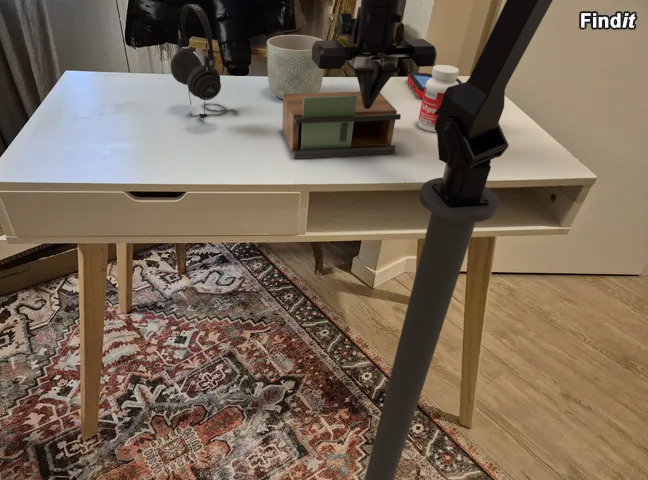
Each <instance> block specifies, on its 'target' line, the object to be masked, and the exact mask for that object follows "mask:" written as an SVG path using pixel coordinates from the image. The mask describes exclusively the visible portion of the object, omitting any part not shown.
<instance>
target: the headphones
mask: <svg viewBox="0 0 648 480" xmlns="http://www.w3.org/2000/svg"><path fill="white" fill-rule="evenodd" d="M190 9H191V10H193V12H194V13H195V14H196V15H197V17H198V19H199V20H200V22H201V25H202V27H203V30H204V34H205V37H206V42H205V56H204V58H203V59H204V64H203V63H202V61H201V59H200V57H199V56H198V55H197V54H196V53H195V52H193V51H191V50H188V49H183V48H188V47H189V39H188V37H186V20H187V15H188V12H189V10H190ZM177 31H178V36H179V37H178V38H177V43H178V48H180V51H178V52H176V53H175V54H174V55H173V56H172V58H171V60H170V73H171V75H172V77H173V78H174V80H176V82H178V83H179V84H182V85H184V86H185V85H187V89H188V97H189V98H191V95H190V94H192V95H193V96H194V97H196V98H199V99H200V100H201V101H204V103H203V113H199V114H195V115H192V112H190V113H189V116H190V117H198V116H199V121H201V122H203V121H204V120H205V117H208V116H212V114H207V113H205V112H206V110H209V111H211V112H212V111H213V112H217V109H215V110H214V109H210V108H207V107H206V105H208V103H206V101H209V100H213V99H214V98H216V97H217V96H218V95H219V94H220V92H221V89H222V83H221V76H220V73H219V71H218V69H216V67H215V66H216V56H215V55H214V45H213V44H214V43H213V38H212V37H213V35H212V30H211V26H210V21H209V19H208V15H207V13H206V12H205V10H204V9H203V7H201V6H200V5H199V4H196V3H194V4H193V3H192V4H191V3H190V4H184V5H183V6H182V8H181V11H180V24H179V23H177ZM189 103H190V104H192V99H189ZM215 105H216V106H221V107H222V108H223V109H222V110H221V112H223V113H219V114H216V116H220V115H224V114H225V113H226V112H227V109H226V108H225V107H224V106H223V105H221V104H217V103H214V106H215ZM232 111H233V112H234V115H236V114H237V112H236V111H235V109H232ZM201 118H202V119H201Z"/></svg>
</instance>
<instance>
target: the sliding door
mask: <svg viewBox="0 0 648 480" xmlns="http://www.w3.org/2000/svg"><path fill="white" fill-rule="evenodd" d="M356 99H357V96H356V95H353V96H321V97H304V98H303V117H302V118H305V117H331V116H355V107H356ZM353 124H354V121H350V122H325V123H302V135H301V150H302V149H323V148H343V147H351V140H352V132H353Z"/></svg>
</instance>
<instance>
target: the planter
mask: <svg viewBox="0 0 648 480" xmlns="http://www.w3.org/2000/svg"><path fill="white" fill-rule="evenodd" d="M316 41H325V40H324V39H322V38H320V37H316V36H311V35H305V34H282V35H275V36H273V37H270V38H268V39H267V41H266V60H267V63H266V64H267V66H266V67H267V68H266V69H267V80H268V81H267V83H268V87H269V90H270V92H271V93H272V94H273V95H274V96H275V97H276V98H278V99H281V100H283V94H298V93H320V91H321V88H322V85H323V79H324V72H325V69H320V68H318V67H317V65H316V64H315V63H314V61H313V60H312V47H313V45H314V43H315V42H316Z"/></svg>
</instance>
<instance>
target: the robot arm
mask: <svg viewBox="0 0 648 480" xmlns="http://www.w3.org/2000/svg"><path fill="white" fill-rule="evenodd" d="M553 1H554V0H506V1H505V3H504V4H503V7H502V9H501V11H500V13H499V15H498V17H497V19H496V21H495V23H494V25H493V27H492V30H491V32H490V34H489V36H488V38H487V40H486V42H485V44H484V45H483V49H481V53H480V55H479V57H478V59H477V61H476V63H475V66H474V67H473V69H472V72H471V74H470V75H469V77H468V78H467V80H466V81H464V82H462V83H461V84H457V85H454V86H451V87H448V88H447V89H446V91H445V93H444V96H443V100H442V103H441V105H440V107H439V108H438V110H437V111H436V112H435V113H434V114H435V115H438V117H437V118H436V122H435V131H436V132H435V133H436V138H437V151H438V160H439V161H441V162H443V163H445V168H444V173H443V175H442V178H443V179H442V183H434V184H432V188H433V189H434V191H435V192H436V193H437V194H438V196H439V197H440V198H441V199H442V200H443V202H444V203H445V204H446V205H447V206H448V207H450V208H453V207H467V206H482V205H489V202H490V201H489V200H488V199H487V198H486V197H485V196H484V195H483V191H484V188H485V187H486V184H487V181H488V177H489V175H490V172H491V170H492V169H491V168H492V166H491V162H492V160H494V159H496V158H500V157H502V156H503V154H504V153H505V152H506V150H507V149H508V148H509V142H508V140H507V138H506V136H505V134H504V132H503V130H502V128H501V125H500V119H501V117H502V114H503V112H504V109H505V97H506V96H505V94H506V88H507V86H508V84H509V81H510V80H511V78H512V76H513V74H514V72H515V71H516V69H517V67H518V65H519V63H520V62H521V59H522V58H523V56H524V55H525V52H526V50H527V49H528V47H529V45H530V44H531V41H532V40H533V37H534V36H535V34H536V32H537V31H538V28H539V26H540V25H541V24H542V21H543V20H544V17H545V16H546V13H547V12H548V10H549V8H550V6H551V4H553V3H552V2H553ZM401 2H402V1H401V0H360V6H358V7H357V11H356V17H355V18H353V15H352V13H350V12H347V13H345V12H344V13H341V12H340V13H339V14H337V20H336V36H337V37H346V43H347V44H352V45H355V46H344V45H343V44H342V43H341V42H340V41H339V40H337V39H336V40H334V39H333V40H331V39H330V40H324V41H316V42H315V43H314V45H313V47H312V60H313V61H314V63H315V64H316V65H317V67H318V68H320V69H324V70H340V69H341V68H343V66H344V65H345V64H346V66H347V67H348V68H349V69H350V70H351V71H352V72H353V73H354V74H355V75H356V78H357V82H358V86H359V92H361V97H362V102H363V106H364V108H365V109H370V107H371V106H372V104H373V103H374V101H375V99H376V98H377V96H378V94H379V93H381V92H382V90H383V88H384V87H385V85H386V84H388V82H389V80H390V79H391V77H392V76H393V75H394V74H397V73H398V74H399V73H400V67H399V66H397V64H398V62H399V60H411V61H412V63H413V64H414V65H415V66H416V67H417V68H423V67H425V68H426V67H434V66H436V62H437V57H438V53H437V48H436V47H435V46H434V45H433V44H432V43H431V42H429V41H427V40H425V39H424V38H403V39H402V40H401V42H400V45H397V44H396V43H395V40H396V33H397V27H398V23H399V24H401V21H402V13H400V9H401V8H400V7H401Z"/></svg>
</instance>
